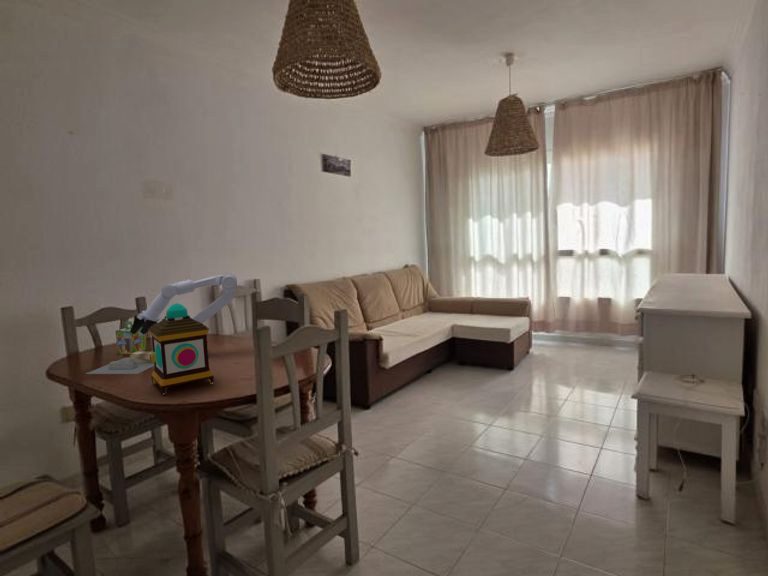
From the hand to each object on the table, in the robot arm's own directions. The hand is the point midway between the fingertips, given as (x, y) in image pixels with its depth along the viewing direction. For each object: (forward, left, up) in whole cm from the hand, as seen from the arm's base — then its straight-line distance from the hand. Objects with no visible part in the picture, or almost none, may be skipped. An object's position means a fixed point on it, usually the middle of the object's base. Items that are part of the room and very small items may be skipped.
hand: (137, 333), depth 196 cm
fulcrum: (-1, +12, -12) cm, 17 cm away
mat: (-1, +8, -13) cm, 15 cm away
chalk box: (+14, -15, -13) cm, 24 cm away
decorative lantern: (-37, +31, -13) cm, 50 cm away
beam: (-5, +3, -12) cm, 13 cm away
